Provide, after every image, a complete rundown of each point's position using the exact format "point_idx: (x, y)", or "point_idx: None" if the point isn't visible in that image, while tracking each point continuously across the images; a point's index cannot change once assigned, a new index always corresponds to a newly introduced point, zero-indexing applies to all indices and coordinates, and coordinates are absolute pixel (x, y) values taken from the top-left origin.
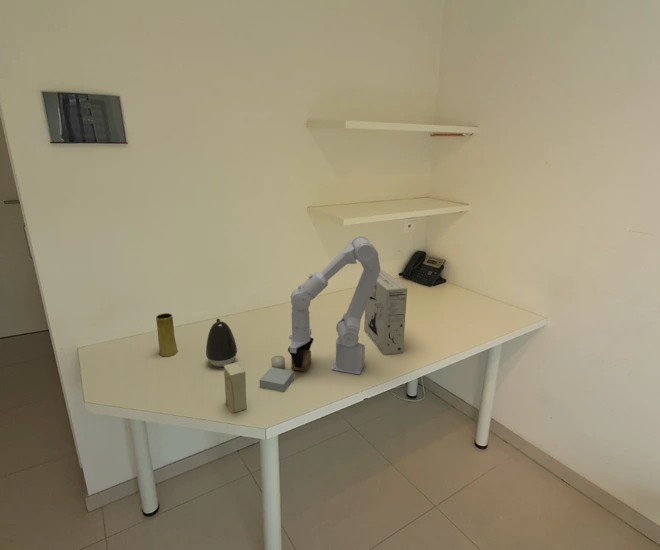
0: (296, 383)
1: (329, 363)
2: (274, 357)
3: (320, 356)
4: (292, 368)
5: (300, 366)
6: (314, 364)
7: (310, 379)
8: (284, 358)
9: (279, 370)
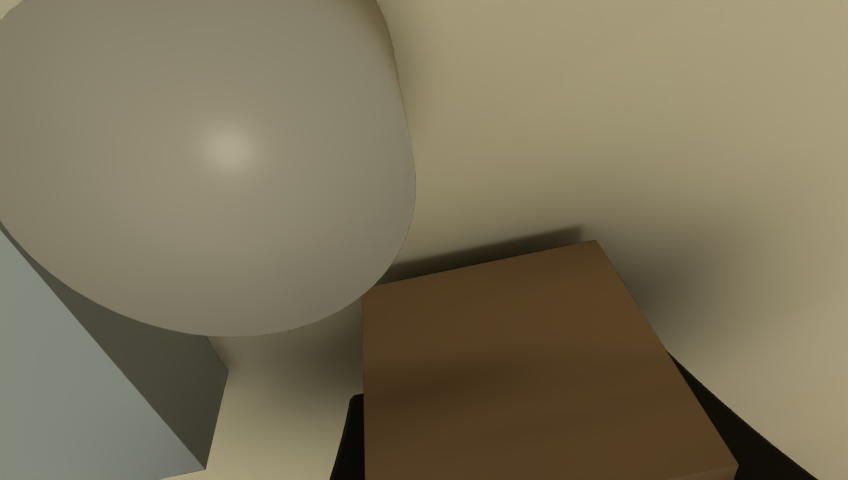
0: None
1: None
2: (190, 43)
3: (832, 331)
4: (364, 308)
5: None
6: None
7: (332, 468)
8: (341, 304)
9: (24, 337)
